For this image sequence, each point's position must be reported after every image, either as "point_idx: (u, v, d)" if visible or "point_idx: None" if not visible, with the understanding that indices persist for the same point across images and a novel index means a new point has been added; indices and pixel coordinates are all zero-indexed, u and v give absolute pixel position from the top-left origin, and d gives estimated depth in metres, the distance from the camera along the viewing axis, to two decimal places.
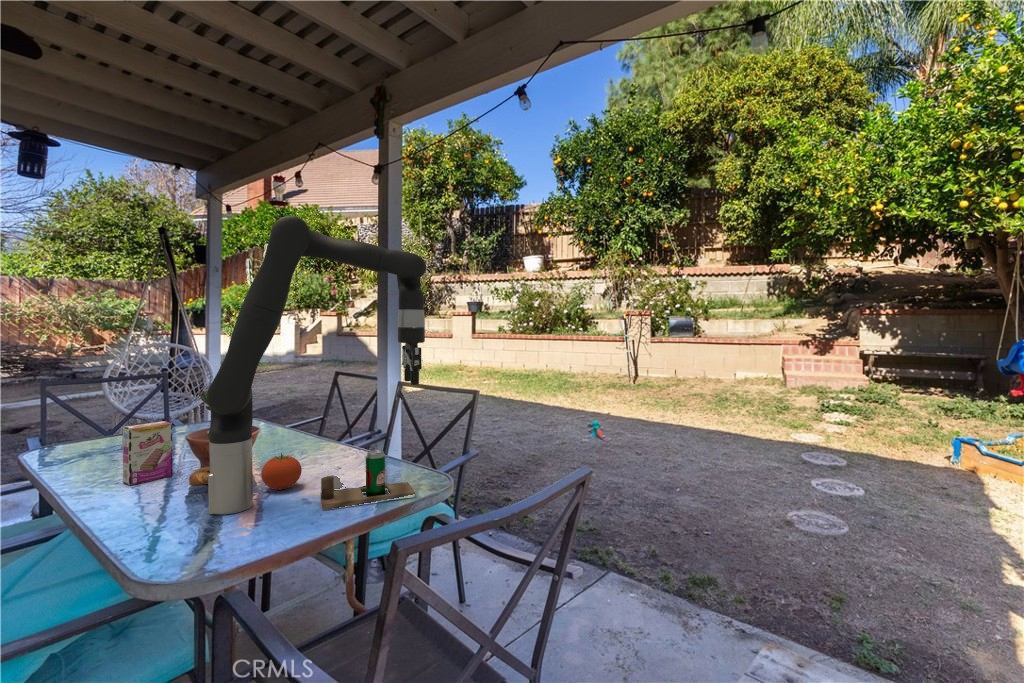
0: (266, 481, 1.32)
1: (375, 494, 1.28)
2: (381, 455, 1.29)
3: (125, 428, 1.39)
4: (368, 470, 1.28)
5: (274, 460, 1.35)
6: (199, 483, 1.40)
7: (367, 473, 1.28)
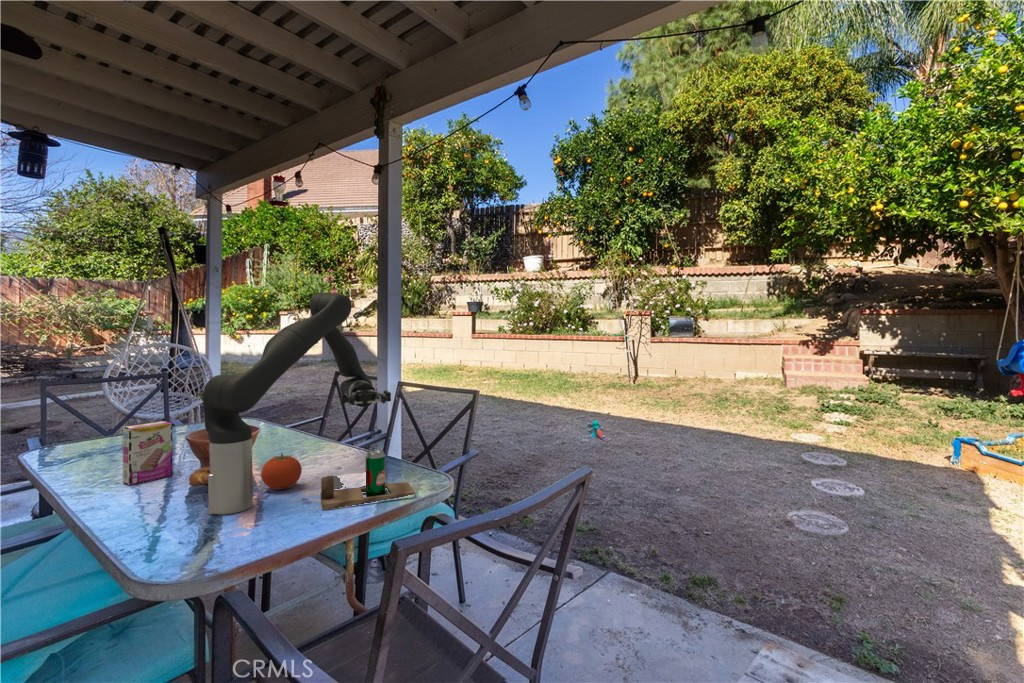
0: (266, 481, 1.32)
1: (375, 494, 1.28)
2: (381, 455, 1.29)
3: (125, 428, 1.39)
4: (368, 470, 1.28)
5: (274, 460, 1.35)
6: (199, 483, 1.40)
7: (367, 473, 1.28)
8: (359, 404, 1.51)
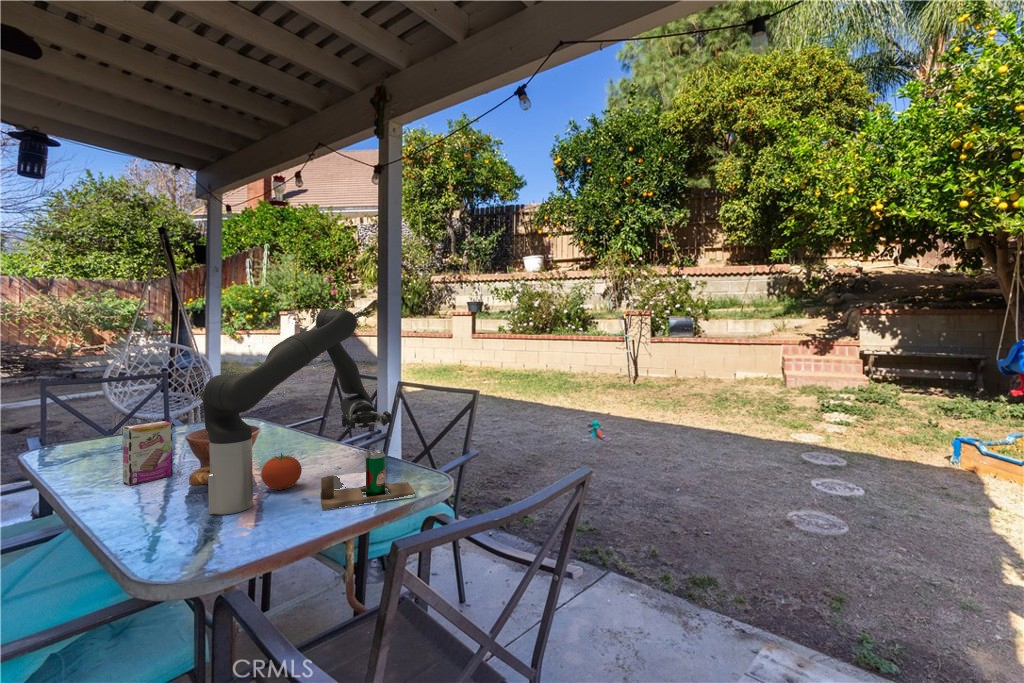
0: (266, 481, 1.32)
1: (375, 494, 1.28)
2: (381, 455, 1.29)
3: (125, 428, 1.39)
4: (368, 470, 1.28)
5: (274, 460, 1.35)
6: (199, 483, 1.40)
7: (367, 473, 1.28)
8: (360, 425, 1.51)
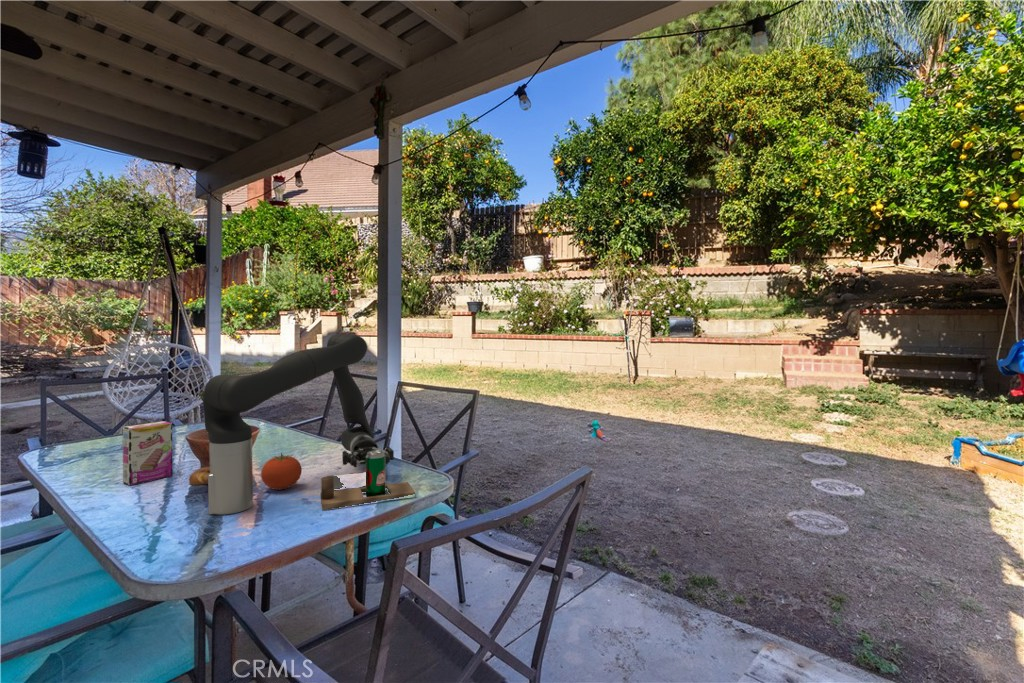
0: (266, 481, 1.32)
1: (375, 494, 1.28)
2: (381, 455, 1.29)
3: (125, 428, 1.39)
4: (368, 470, 1.28)
5: (274, 460, 1.35)
6: (199, 483, 1.40)
7: (367, 473, 1.28)
8: (361, 461, 1.47)
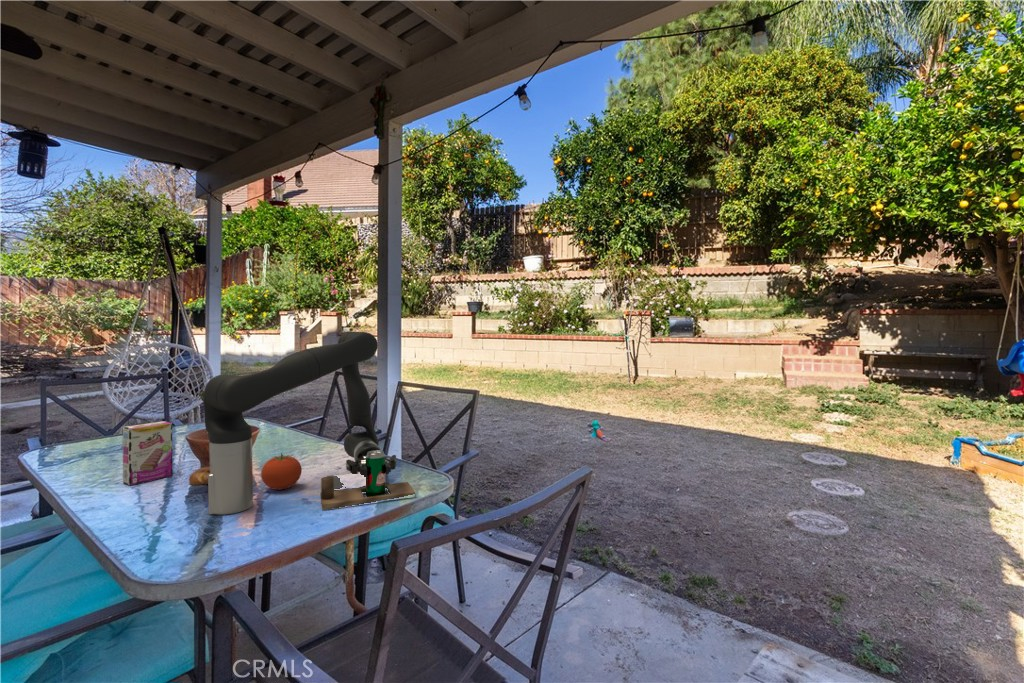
0: (266, 481, 1.32)
1: (375, 494, 1.28)
2: (381, 455, 1.29)
3: (125, 428, 1.39)
4: (368, 470, 1.28)
5: (274, 460, 1.35)
6: (199, 483, 1.40)
7: (367, 473, 1.28)
8: None
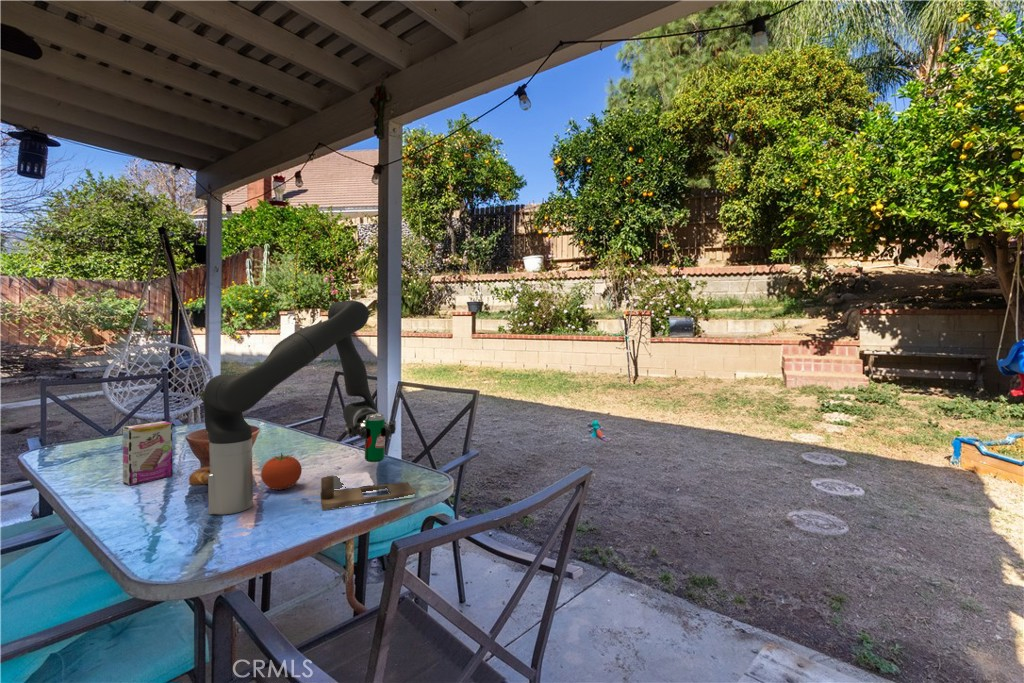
0: (266, 481, 1.32)
1: (374, 457, 1.28)
2: (381, 418, 1.29)
3: (125, 428, 1.39)
4: (367, 433, 1.28)
5: (274, 460, 1.35)
6: (199, 483, 1.40)
7: None
8: None
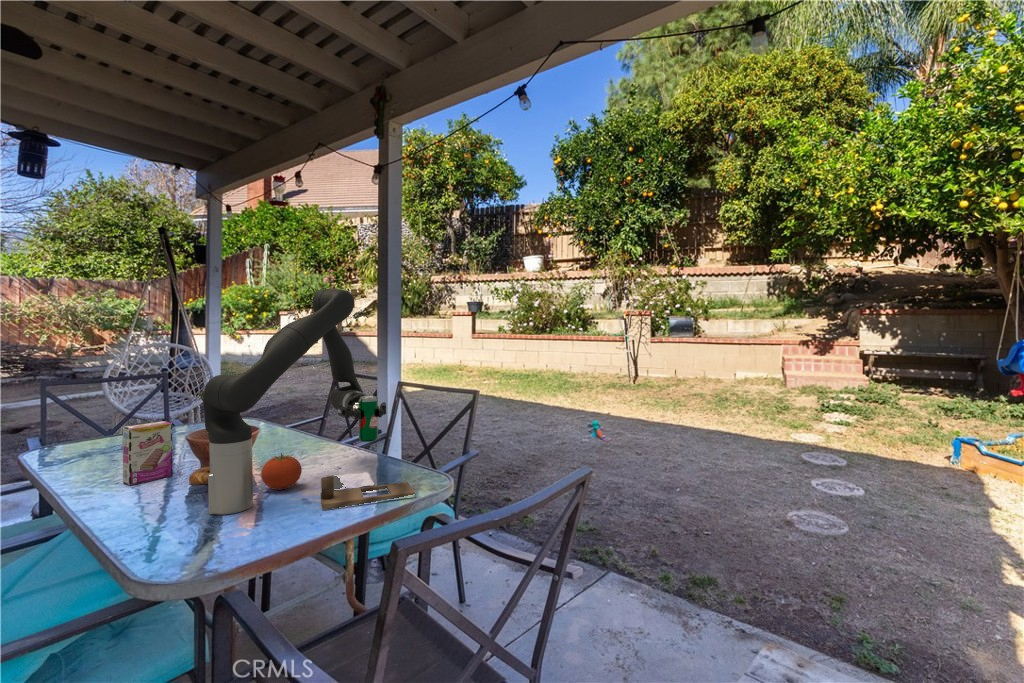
0: (266, 481, 1.32)
1: (369, 436, 1.33)
2: (374, 399, 1.34)
3: (125, 428, 1.39)
4: (361, 414, 1.33)
5: (274, 460, 1.35)
6: (199, 483, 1.40)
7: None
8: None
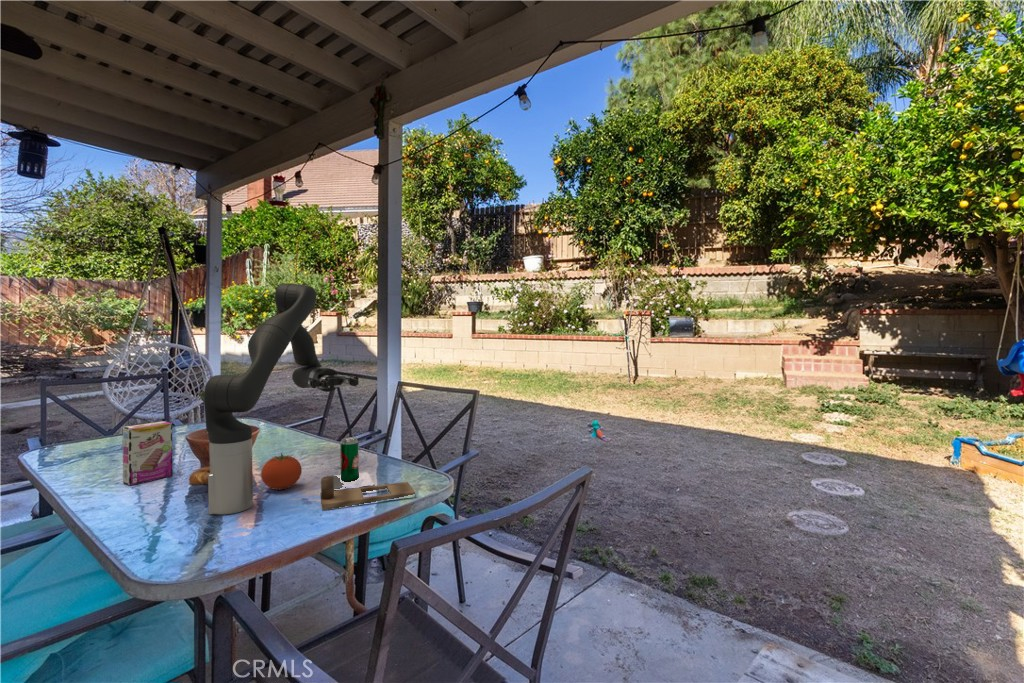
0: (266, 481, 1.32)
1: (351, 477, 1.41)
2: (356, 441, 1.42)
3: (125, 428, 1.39)
4: (344, 456, 1.41)
5: (274, 460, 1.35)
6: (198, 483, 1.40)
7: (343, 458, 1.41)
8: (324, 389, 1.56)
